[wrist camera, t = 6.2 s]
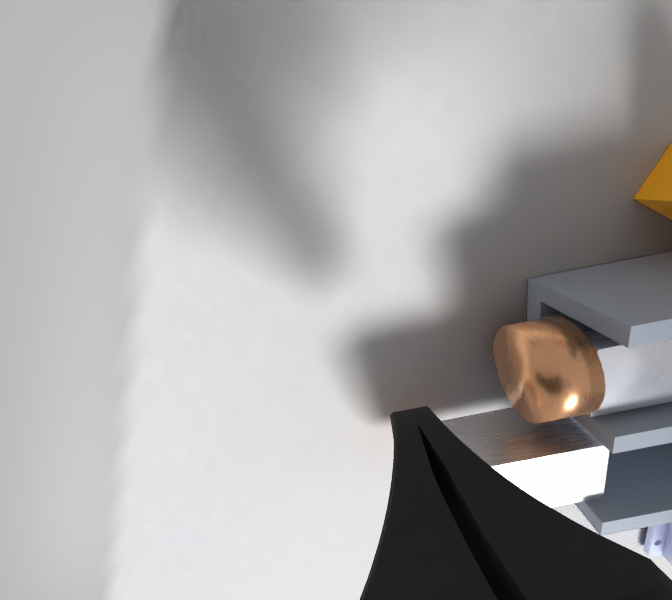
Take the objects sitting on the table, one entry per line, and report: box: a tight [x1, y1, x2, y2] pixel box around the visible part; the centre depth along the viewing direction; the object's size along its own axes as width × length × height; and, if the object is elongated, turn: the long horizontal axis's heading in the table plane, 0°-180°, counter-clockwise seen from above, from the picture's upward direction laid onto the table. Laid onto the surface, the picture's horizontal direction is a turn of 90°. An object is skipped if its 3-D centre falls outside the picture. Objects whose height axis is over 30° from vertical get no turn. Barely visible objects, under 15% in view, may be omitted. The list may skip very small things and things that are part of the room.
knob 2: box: [442, 407, 609, 507], centre depth 15 cm, size 4×8×4 cm, turn 100°
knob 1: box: [493, 313, 672, 423], centre depth 14 cm, size 4×8×4 cm, turn 100°
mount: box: [527, 251, 672, 536], centre depth 15 cm, size 10×9×6 cm
